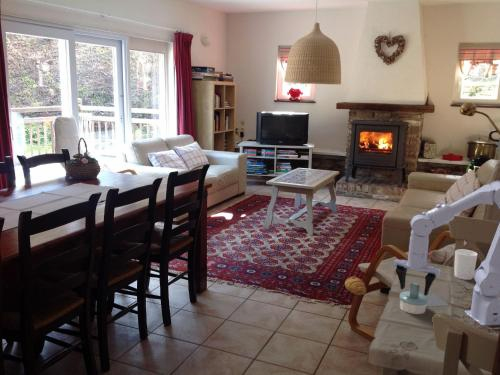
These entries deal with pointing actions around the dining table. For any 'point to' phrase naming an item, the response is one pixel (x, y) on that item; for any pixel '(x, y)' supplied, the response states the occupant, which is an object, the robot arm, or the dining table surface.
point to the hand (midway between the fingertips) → (414, 291)
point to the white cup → (464, 264)
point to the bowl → (412, 308)
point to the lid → (414, 296)
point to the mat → (435, 301)
